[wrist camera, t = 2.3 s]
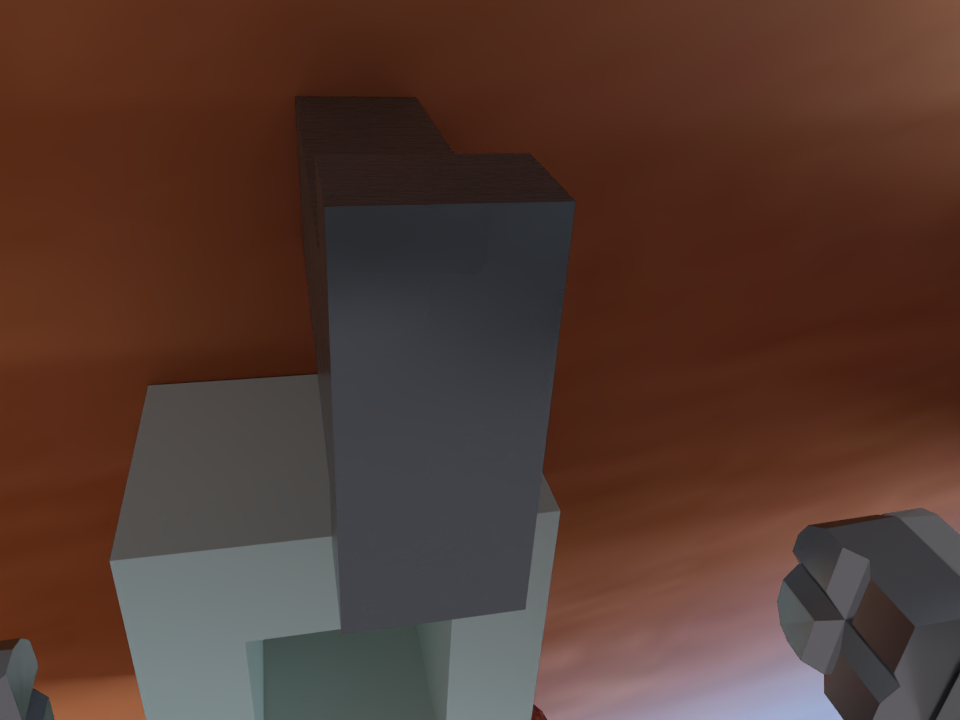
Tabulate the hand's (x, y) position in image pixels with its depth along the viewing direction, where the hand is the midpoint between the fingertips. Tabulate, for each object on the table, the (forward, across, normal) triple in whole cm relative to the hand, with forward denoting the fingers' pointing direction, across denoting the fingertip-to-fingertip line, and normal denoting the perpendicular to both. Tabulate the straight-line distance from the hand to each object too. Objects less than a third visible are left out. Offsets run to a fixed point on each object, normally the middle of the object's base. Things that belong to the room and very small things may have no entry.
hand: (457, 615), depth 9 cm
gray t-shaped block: (+15, -1, 0) cm, 15 cm away
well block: (+15, 0, +12) cm, 19 cm away
